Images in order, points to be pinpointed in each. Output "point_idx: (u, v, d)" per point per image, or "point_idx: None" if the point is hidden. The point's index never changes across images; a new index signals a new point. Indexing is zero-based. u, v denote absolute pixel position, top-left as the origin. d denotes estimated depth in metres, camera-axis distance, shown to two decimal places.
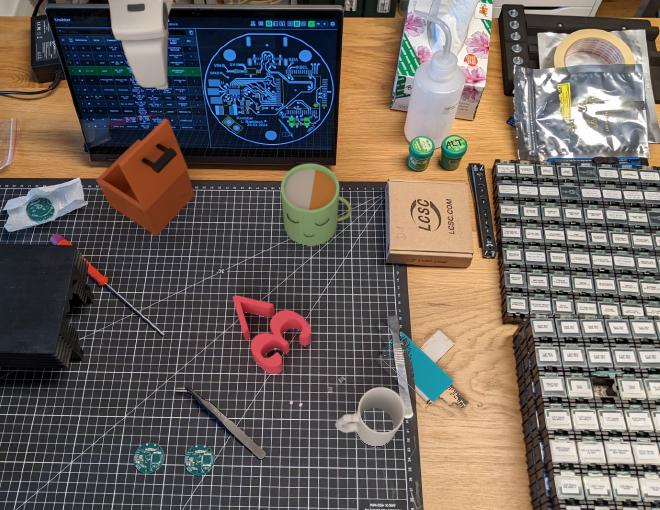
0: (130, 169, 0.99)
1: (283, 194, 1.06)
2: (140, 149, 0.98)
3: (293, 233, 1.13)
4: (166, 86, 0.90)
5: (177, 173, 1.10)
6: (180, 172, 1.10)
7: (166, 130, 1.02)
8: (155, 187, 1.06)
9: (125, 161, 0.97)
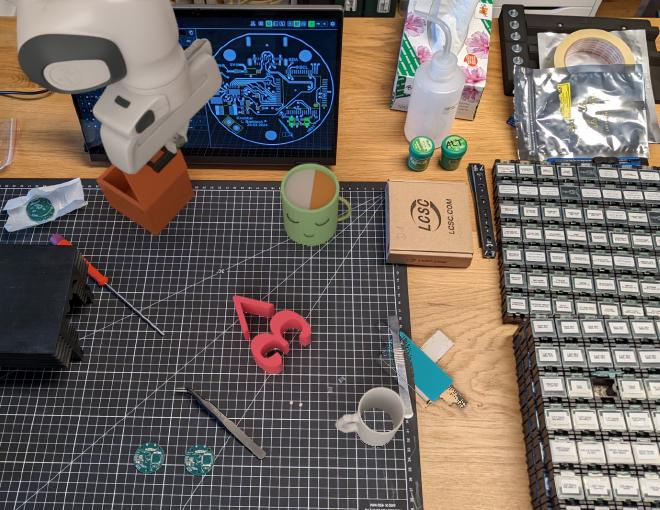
0: None
1: (283, 194, 1.06)
2: None
3: (293, 233, 1.13)
4: (174, 151, 0.91)
5: (177, 173, 1.10)
6: (180, 172, 1.10)
7: None
8: (155, 187, 1.06)
9: None
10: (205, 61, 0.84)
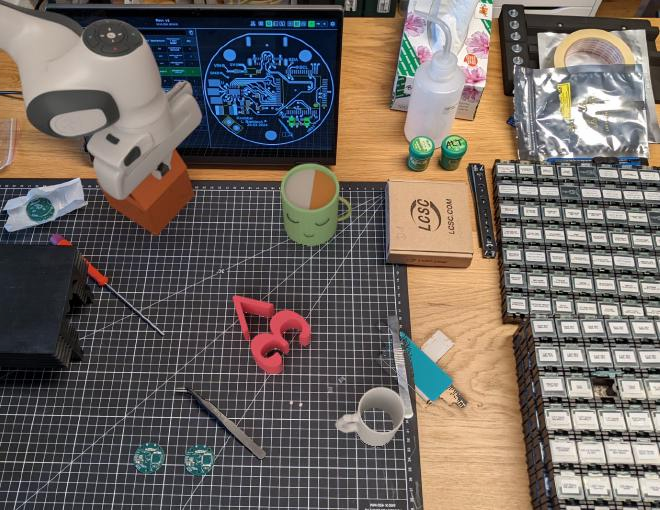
0: None
1: (283, 194, 1.06)
2: None
3: (293, 233, 1.13)
4: (159, 178, 1.03)
5: (175, 172, 1.10)
6: (179, 171, 1.10)
7: None
8: (151, 185, 1.07)
9: None
10: (186, 101, 0.96)
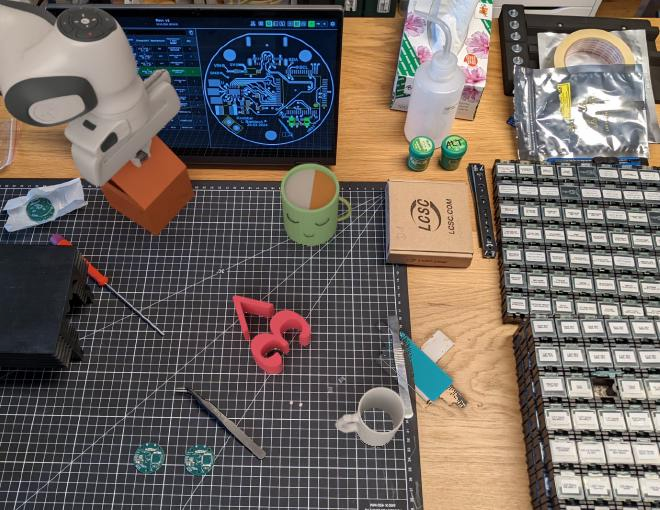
0: None
1: (283, 194, 1.06)
2: None
3: (293, 233, 1.13)
4: (138, 166, 1.04)
5: (173, 172, 1.10)
6: (178, 170, 1.10)
7: None
8: (147, 184, 1.07)
9: None
10: (164, 88, 0.97)
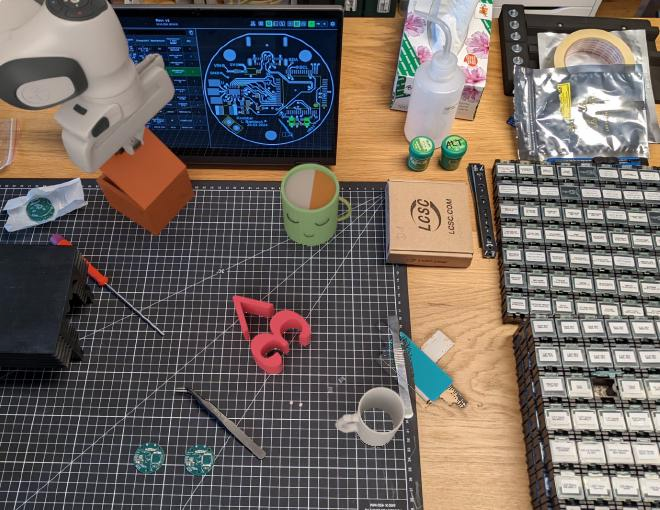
0: None
1: (283, 194, 1.06)
2: None
3: (293, 233, 1.13)
4: (131, 153, 1.02)
5: (173, 172, 1.10)
6: (177, 170, 1.11)
7: None
8: (147, 184, 1.08)
9: None
10: (157, 73, 0.95)
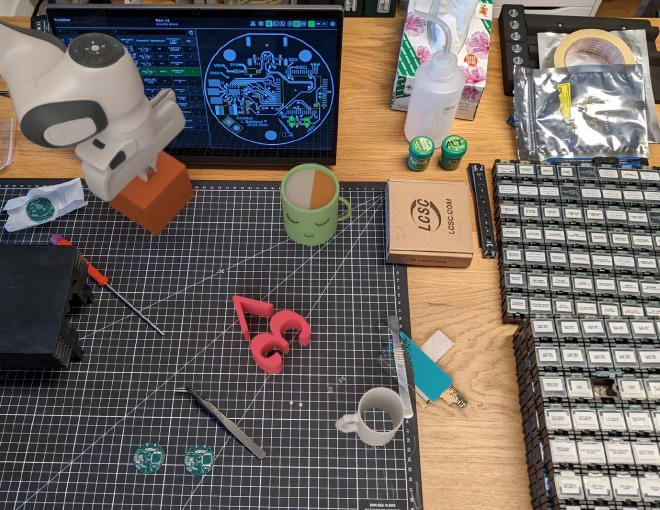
0: None
1: (283, 194, 1.06)
2: None
3: (293, 233, 1.13)
4: (145, 180, 1.09)
5: (172, 172, 1.11)
6: (176, 170, 1.11)
7: None
8: (145, 186, 1.09)
9: None
10: (169, 107, 1.02)
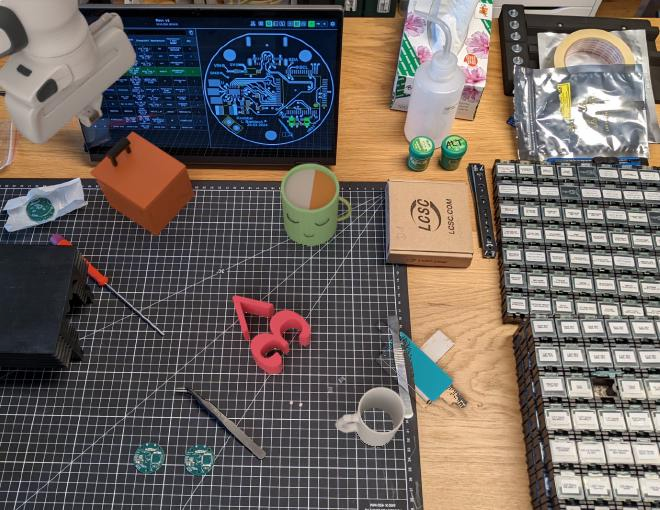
0: (102, 174, 1.09)
1: (283, 194, 1.06)
2: (107, 156, 1.11)
3: (293, 233, 1.13)
4: (87, 125, 0.93)
5: (172, 172, 1.11)
6: (176, 170, 1.11)
7: (134, 139, 1.13)
8: (145, 186, 1.09)
9: (93, 169, 1.10)
10: (114, 35, 0.86)
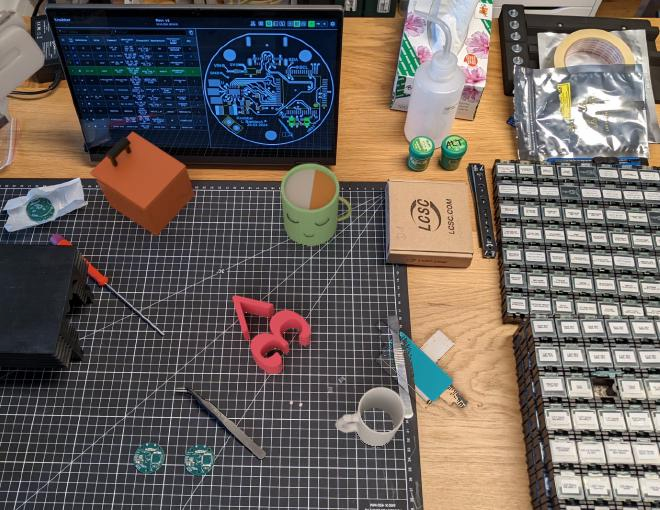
0: (102, 174, 1.09)
1: (283, 194, 1.06)
2: (107, 156, 1.11)
3: (293, 233, 1.13)
4: None
5: (172, 172, 1.11)
6: (176, 170, 1.11)
7: (134, 139, 1.13)
8: (145, 186, 1.09)
9: (93, 169, 1.10)
10: (13, 34, 0.80)
